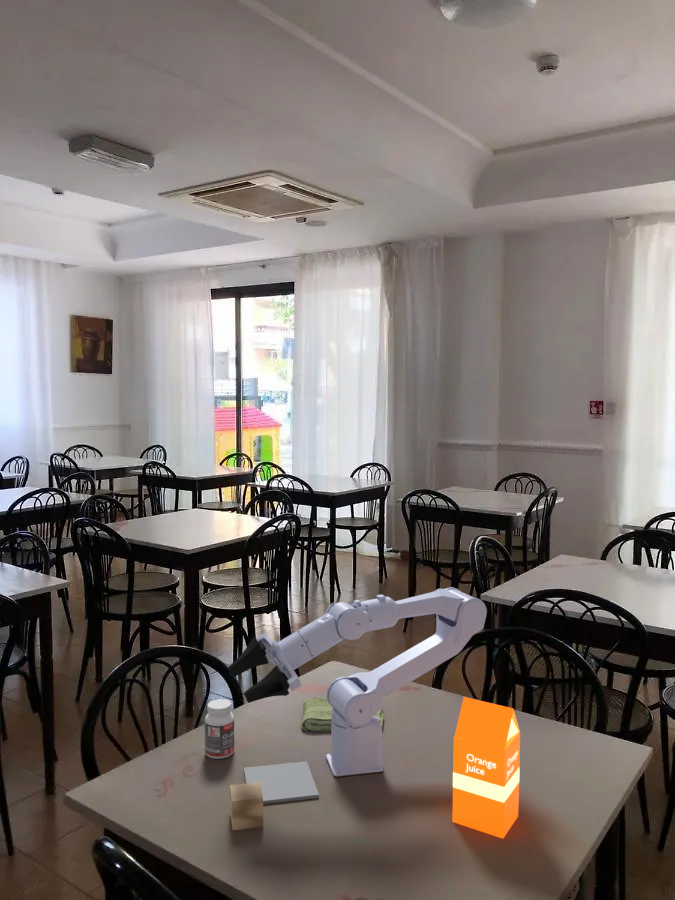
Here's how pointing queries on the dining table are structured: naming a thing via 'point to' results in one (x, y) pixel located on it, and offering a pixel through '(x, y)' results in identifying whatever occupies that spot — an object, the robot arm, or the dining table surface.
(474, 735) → the orange juice
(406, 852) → the dining table surface
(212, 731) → the pill bottle
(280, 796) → the grey board
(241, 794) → the oak cube
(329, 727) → the washcloth
